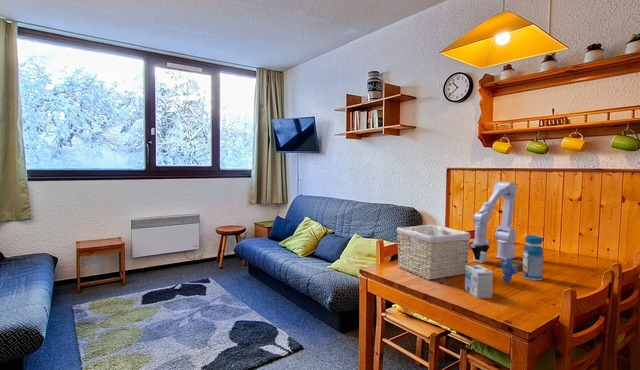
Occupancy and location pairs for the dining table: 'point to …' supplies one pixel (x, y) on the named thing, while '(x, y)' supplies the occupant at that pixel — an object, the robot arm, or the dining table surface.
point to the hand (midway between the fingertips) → (479, 258)
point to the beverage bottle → (533, 258)
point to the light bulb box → (478, 281)
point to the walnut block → (515, 264)
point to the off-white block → (481, 257)
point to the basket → (433, 251)
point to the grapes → (508, 270)
